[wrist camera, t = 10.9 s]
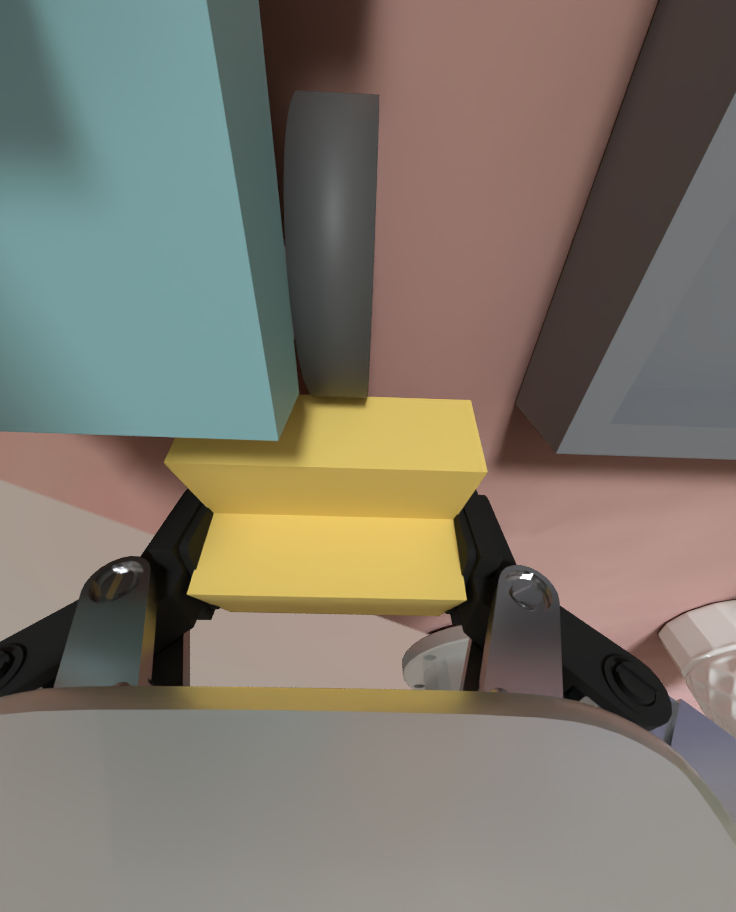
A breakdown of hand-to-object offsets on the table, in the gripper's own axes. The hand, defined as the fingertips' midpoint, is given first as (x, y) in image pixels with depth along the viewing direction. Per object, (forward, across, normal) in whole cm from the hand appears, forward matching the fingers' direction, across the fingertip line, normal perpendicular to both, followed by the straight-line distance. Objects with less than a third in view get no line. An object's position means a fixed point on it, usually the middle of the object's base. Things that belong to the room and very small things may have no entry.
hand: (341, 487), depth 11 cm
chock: (0, 0, -2) cm, 2 cm away
